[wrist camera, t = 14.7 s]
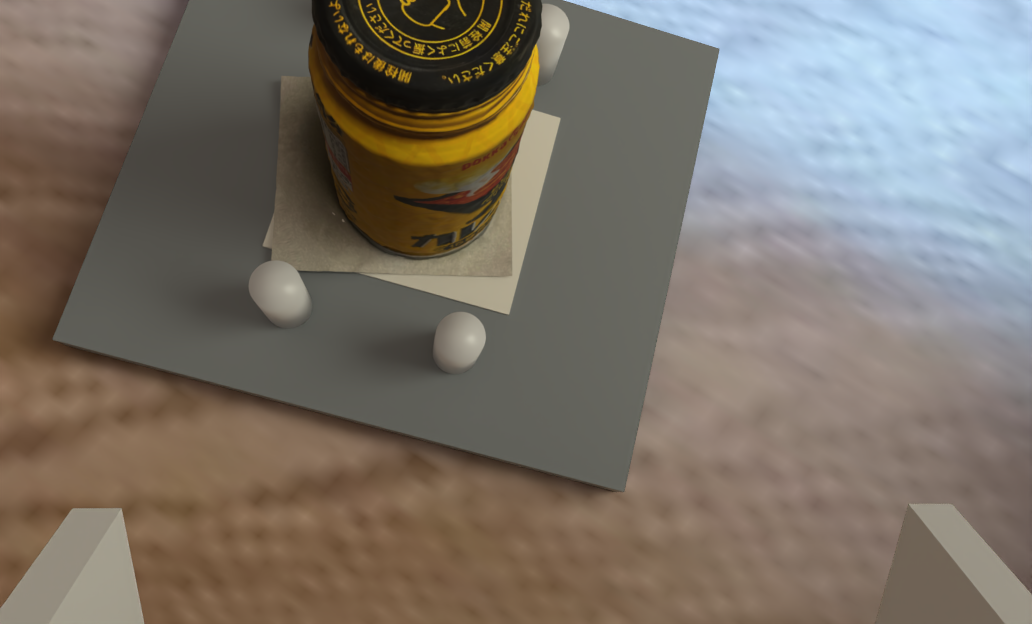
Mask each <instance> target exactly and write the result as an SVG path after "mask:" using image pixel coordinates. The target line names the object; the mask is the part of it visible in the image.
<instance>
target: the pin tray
mask: <svg viewBox="0 0 1032 624" xmlns="http://www.w3.org/2000/svg"><path fill="white" fill-rule="evenodd" d="M541 2H542V14H541V18H542V28H541V31H540V37H539V39H538V41H537V43H536V44H537V48H538V53H539V65H540V69H539V76H538V84H537V87H536V94H535V97H534V108H533V109H532V111H531V114H530V117H529V119H528V120H527V123H526V126H525V129H524V132H523V135H522V137H521V141H520V145H519V150H518V154H517V155H516V157H515V161H514V164H513V166H512V170H511V174H512V180H511V190H512V276H454V275H420V274H391V273H366V272H335V271H300V270H296V269H295V268H294V267H293V266H292V265H290V264H288V263H286V262H284V261H278V260H273V261H271V257H272V241H273V228H274V210H275V194H276V176H277V160H278V139H279V121H280V101H281V76H295V77H311V76H310V72H309V68H308V50H309V42H310V38H311V33H312V28H313V25H314V22H313V18H312V0H189V2H188V5H187V7H186V10H185V12H184V15H183V17H182V20H181V22H180V25H179V27H178V30H177V32H176V34H175V37H174V39H173V42H172V44H171V47H170V49H169V52H168V54H167V57H166V59H165V62H164V64H163V67H162V69H161V72H160V74H159V77H158V79H157V82H156V84H155V86H154V89H153V91H152V94H151V96H150V99H149V101H148V104H147V106H146V109H145V111H144V114H143V116H142V119H141V121H140V124H139V126H138V129H137V131H136V134H135V136H134V138H133V141H132V143H131V146H130V148H129V151H128V153H127V156H126V158H125V161H124V163H123V166H122V168H121V171H120V173H119V176H118V178H117V181H116V183H115V185H114V188H113V190H112V193H111V195H110V198H109V200H108V203H107V205H106V208H105V210H104V213H103V215H102V218H101V220H100V223H99V225H98V228H97V230H96V233H95V235H94V237H93V240H92V242H91V245H90V247H89V250H88V252H87V255H86V257H85V260H84V262H83V265H82V267H81V270H80V272H79V275H78V277H77V280H76V282H75V284H74V287H73V289H72V292H71V294H70V297H69V299H68V302H67V304H66V307H65V309H64V312H63V314H62V317H61V319H60V322H59V324H58V327H57V329H56V332H55V334H54V336H53V339H52V340H54V341H57V342H59V343H62V344H64V345H66V346H70V347H74V348H77V349H81V350H85V351H89V352H92V353H96V354H100V355H104V356H107V357H111V358H115V359H119V360H122V361H126V362H130V363H134V364H137V365H141V366H145V367H149V368H152V369H156V370H160V371H164V372H168V373H171V374H175V375H179V376H183V377H186V378H190V379H194V380H198V381H201V382H205V383H209V384H213V385H216V386H220V387H224V388H228V389H231V390H235V391H239V392H243V393H246V394H250V395H254V396H258V397H261V398H265V399H269V400H273V401H276V402H280V403H284V404H288V405H292V406H295V407H299V408H303V409H307V410H310V411H314V412H318V413H322V414H325V415H329V416H333V417H337V418H340V419H344V420H348V421H352V422H355V423H359V424H363V425H367V426H370V427H374V428H378V429H382V430H385V431H389V432H393V433H397V434H400V435H404V436H408V437H412V438H415V439H419V440H423V441H427V442H431V443H434V444H438V445H442V446H446V447H449V448H453V449H457V450H461V451H464V452H468V453H472V454H476V455H479V456H483V457H487V458H491V459H494V460H498V461H502V462H506V463H509V464H513V465H517V466H521V467H524V468H528V469H532V470H536V471H539V472H543V473H547V474H551V475H554V476H558V477H562V478H566V479H570V480H573V481H577V482H581V483H585V484H588V485H592V486H596V487H600V488H603V489H607V490H611V491H615V492H624V491H625V486H626V481H627V477H628V472H629V468H630V463H631V458H632V454H633V449H634V444H635V440H636V435H637V430H638V426H639V421H640V416H641V412H642V407H643V402H644V398H645V393H646V389H647V384H648V379H649V375H650V370H651V365H652V361H653V356H654V351H655V347H656V342H657V337H658V333H659V328H660V323H661V319H662V314H663V310H664V305H665V300H666V296H667V291H668V286H669V282H670V277H671V272H672V268H673V263H674V258H675V254H676V249H677V244H678V240H679V235H680V231H681V226H682V221H683V217H684V212H685V207H686V203H687V198H688V193H689V189H690V184H691V179H692V175H693V170H694V165H695V161H696V156H697V152H698V147H699V142H700V138H701V133H702V128H703V124H704V119H705V114H706V110H707V105H708V100H709V96H710V91H711V86H712V82H713V77H714V73H715V68H716V63H717V59H718V54H719V49H718V48H715V47H712V46H709V45H705V44H702V43H699V42H696V41H692V40H689V39H686V38H683V37H680V36H676V35H673V34H670V33H667V32H663V31H660V30H657V29H654V28H651V27H647V26H644V25H641V24H638V23H634V22H631V21H628V20H625V19H622V18H618V17H615V16H612V15H609V14H605V13H602V12H599V11H596V10H593V9H589V8H586V7H583V6H580V5H576V4H573V3H570V2H567V1H564V0H541ZM332 213H333V212H332ZM333 214H334V213H333ZM334 215H335V214H334ZM342 221H343V222H345V221H344V220H343V219H342Z"/></svg>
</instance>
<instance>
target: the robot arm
mask: <svg viewBox="0 0 1032 624" xmlns="http://www.w3.org/2000/svg"><path fill="white" fill-rule="evenodd" d="M0 624H144V619H143V614H142V609H141V604H140V599H139V594H138V589H137V584H136V579H135V574H134V569H133V564H132V559H131V553H130V548H129V543H128V538H127V533H126V528H125V523H124V518H123V513H122V508H72V510H71V511H70V513H69V514H68V515H67V517H66V518H65V520H64V521H63V522H62V524H61V525H60V527H59V528H58V529H57V531H56V532H55V533H54V535H53V536H52V538H51V539H50V540H49V542H48V543H47V545H46V546H45V547H44V549H43V550H42V552H41V553H40V554H39V556H38V557H37V558H36V560H35V561H34V563H33V564H32V565H31V567H30V568H29V570H28V571H27V572H26V574H25V575H24V577H23V578H22V579H21V581H20V582H19V583H18V585H17V586H16V588H15V589H14V590H13V592H12V593H11V595H10V596H9V597H8V599H7V600H6V602H5V603H4V604H3V606H2V607H1V608H0ZM875 624H1032V594H1031V593H1030V592H1029V591H1028V590H1027V588H1026V587H1025V586H1024V585H1023V584H1022V583H1021V582H1020V580H1019V579H1018V578H1017V577H1016V576H1015V575H1014V574H1013V573H1012V571H1011V570H1010V569H1009V568H1008V567H1007V566H1006V565H1005V564H1004V562H1003V561H1002V560H1001V559H1000V558H999V557H998V556H997V554H996V553H995V552H994V551H993V550H992V549H991V548H990V547H989V545H988V544H987V543H986V542H985V541H984V540H983V539H982V537H981V536H980V535H979V534H978V533H977V532H976V531H975V530H974V528H973V527H972V526H971V525H970V524H969V523H968V522H967V521H966V519H965V518H964V517H963V516H962V515H961V514H960V513H959V511H958V510H957V509H956V508H955V507H954V506H953V505H952V504H908V508H907V511H906V515H905V518H904V522H903V526H902V529H901V533H900V536H899V540H898V544H897V547H896V551H895V554H894V558H893V561H892V565H891V569H890V572H889V576H888V579H887V583H886V587H885V590H884V594H883V597H882V601H881V604H880V608H879V612H878V615H877V619H876V622H875Z"/></svg>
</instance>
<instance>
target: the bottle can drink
mask: <svg viewBox="0 0 1032 624" xmlns="http://www.w3.org/2000/svg"><path fill="white" fill-rule="evenodd" d="M541 14H542V2H541V0H312V18H313V22H314V25H313V28H312V33H311V38H310V42H309V50H308V68H309V72H310V76H311V77H295V76H281V101H280V121H279V139H278V160H277V176H276V194H275V210H274V228H273V241H272V257H271V261H273V260H278V261H284V262H286V263H288V264H290V265H292V266H293V267H294V268H295V269H296V270H300V271H335V272H366V273H391V274H420V275H454V276H512V190H511V180H512V174H511V170H512V166H513V164H514V161H515V157H516V155H517V154H518V150H519V145H520V141H521V137H522V135H523V132H524V129H525V126H526V123H527V120H528V119H529V117H530V114H531V111H532V109H533V108H534V97H535V94H536V87H537V84H538V76H539V69H540V65H539V53H538V48H537V44H536V43H537V41H538V39H539V37H540V31H541V28H542V18H541ZM332 212H333V213H334V214H335V215H334V214H333V213H332ZM342 219H343V220H344V221H345V222H343V221H342Z"/></svg>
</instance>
